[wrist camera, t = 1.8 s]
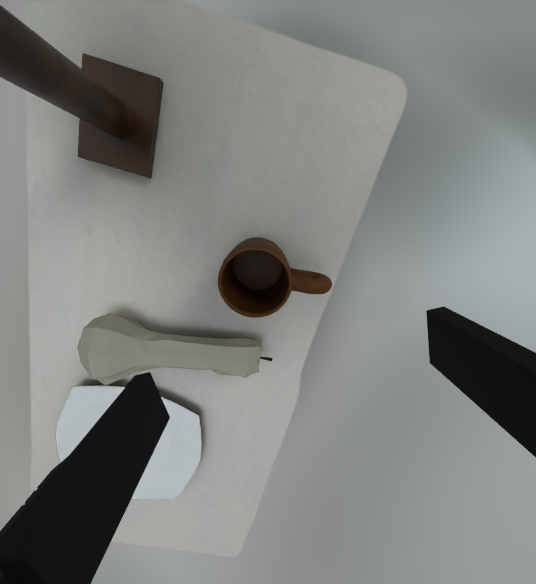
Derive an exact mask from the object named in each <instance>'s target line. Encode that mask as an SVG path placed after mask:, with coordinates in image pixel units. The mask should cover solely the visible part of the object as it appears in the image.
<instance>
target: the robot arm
mask: <svg viewBox="0 0 536 584" xmlns="http://www.w3.org/2000/svg"><path fill="white" fill-rule="evenodd" d="M427 326H428V341H429V357H430V363H431V364H432V365H433V366H434V367H435V368H436V369H437V370H438V371H440V372H441V373H442V374H443V375H444V376H445V377H446V378H447V379H449V380H450V381H451V382H452V383H453V384H454V385H455V386H456V387H458V388H459V389H460V390H461V391H462V392H463V393H464V394H465V395H467V396H468V397H469V398H470V399H471V400H472V401H473V402H474V403H476V404H477V405H478V406H479V407H480V408H481V409H482V410H483V411H484V412H486V413H487V414H488V415H489V416H490V417H491V418H492V419H493V420H495V421H496V422H497V423H498V424H499V425H500V426H501V427H502V428H504V429H505V430H506V431H507V432H508V433H509V434H510V435H511V436H512V437H514V438H515V439H516V440H517V441H518V442H519V443H520V444H521V445H523V446H524V447H525V448H526V449H527V450H528V451H529V452H530V453H532V454H533V455H534V456H535V457H536V353H535V352H533V351H531V350H529V349H527V348H525V347H523V346H521V345H518V344H517V343H515V342H513V341H511V340H509V339H507V338H505V337H503V336H501V335H499V334H497V333H495V332H493V331H491V330H489V329H487V328H485V327H483V326H481V325H479V324H477V323H475V322H473V321H471V320H469V319H467V318H465V317H463V316H461V315H459V314H457V313H455V312H453V311H451V310H449V309H448V308H445V307H440V308H436V309H431V310H427ZM169 419H170V416H169V414H168V412H167V409H166V407H165V405H164V403H163V400H162V398H161V396H160V394H159V391H158V389H157V387H156V385H155V382H154V380H153V378H152V376H151V373H150V372H149V373H144V374H140V375H135V376H134V377H133V379H132V380H131V381H130V382H129V383H128V385H127V386H126V387H125V388H124V390H123V391H122V392H121V393H120V394H119V396H118V397H117V398H116V399H115V400H114V402H113V403H112V404H111V405H110V406H109V408H108V409H107V410H106V411H105V413H104V414H103V415H102V416H101V417H100V419H99V420H98V421H97V422H96V423H95V425H94V426H93V427H92V428H91V429H90V431H89V432H88V433H87V434H86V436H85V437H84V438H83V439H82V440H81V442H80V443H79V444H78V445H77V446H76V448H75V449H74V450H73V451H72V452H71V454H70V455H69V456H68V457H67V458H65V459H64V460H63V461H62V462H61V463H60V464H59V465H57V466H56V467H55V468H54V469H53V470H52V471H51V472H50V473H49V474H48V475H47V477H46V478H45V479H44V480H43V481H42V483H41V484H40V485H39V486H38V487H37V488H38V489H37V490H36V491H34V492H33V493H32V494H31V496H30V497H29V498H28V499H27V500H26V503H25V505H22V506H21V507H20V509H19V510H18V511H17V512H16V513H15V515H14V516H13V517H12V518H11V519H10V520H9V522H8V523H7V524H6V525H5V526H4V528H3V529H2V530H1V531H0V584H91V582H92V579H93V577H94V575H95V573H96V571H97V569H98V567H99V565H100V563H101V560H102V559H103V556H104V554H105V552H106V550H107V548H108V546H109V544H110V542H111V540H112V538H113V536H114V533H115V531H116V529H117V527H118V525H119V523H120V521H121V519H122V517H123V515H124V513H125V511H126V508H127V506H128V504H129V502H130V500H131V498H132V496H133V494H134V492H135V490H136V488H137V485H138V483H139V481H140V479H141V477H142V475H143V473H144V471H145V469H146V467H147V465H148V462H149V460H150V458H151V456H152V454H153V452H154V450H155V448H156V446H157V444H158V442H159V440H160V437H161V435H162V433H163V431H164V429H165V427H166V425H167V423H168V421H169Z"/></svg>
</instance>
